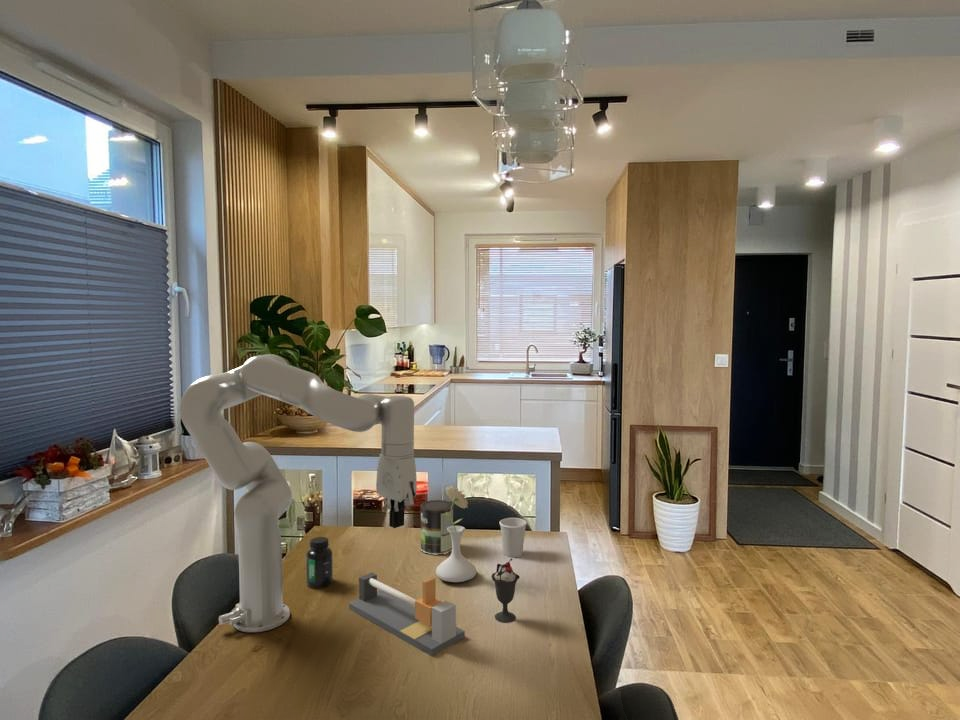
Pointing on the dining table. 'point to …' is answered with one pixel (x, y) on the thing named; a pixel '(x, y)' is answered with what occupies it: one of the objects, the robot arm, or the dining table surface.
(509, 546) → the dixie cup
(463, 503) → the flower in vase
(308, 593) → the dining table surface
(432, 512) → the coffee can
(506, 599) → the sundae
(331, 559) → the supplement bottle
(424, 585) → the orange l-shaped block
